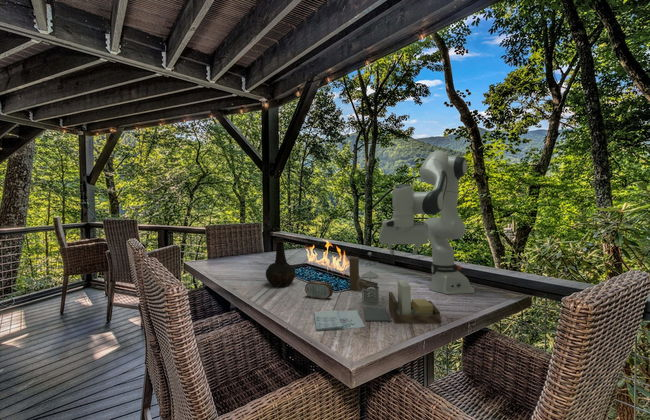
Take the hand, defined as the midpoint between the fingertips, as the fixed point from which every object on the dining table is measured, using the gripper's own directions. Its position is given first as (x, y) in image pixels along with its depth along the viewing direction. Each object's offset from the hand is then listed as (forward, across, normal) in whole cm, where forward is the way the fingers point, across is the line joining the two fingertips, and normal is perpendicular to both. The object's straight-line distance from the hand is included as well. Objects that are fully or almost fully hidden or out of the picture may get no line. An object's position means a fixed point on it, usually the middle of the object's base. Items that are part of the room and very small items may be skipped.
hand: (403, 254), depth 135 cm
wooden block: (+26, +18, -38) cm, 50 cm away
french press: (+27, +14, -15) cm, 34 cm away
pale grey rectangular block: (+26, 0, 0) cm, 26 cm away
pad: (+26, +12, 0) cm, 29 cm away
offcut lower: (+27, -8, 0) cm, 28 cm away
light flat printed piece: (+27, +28, +6) cm, 39 cm away
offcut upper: (+24, -8, 0) cm, 25 cm away
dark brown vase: (+27, +64, -50) cm, 85 cm away
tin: (+27, +39, -24) cm, 53 cm away
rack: (+26, -4, 0) cm, 27 cm away
